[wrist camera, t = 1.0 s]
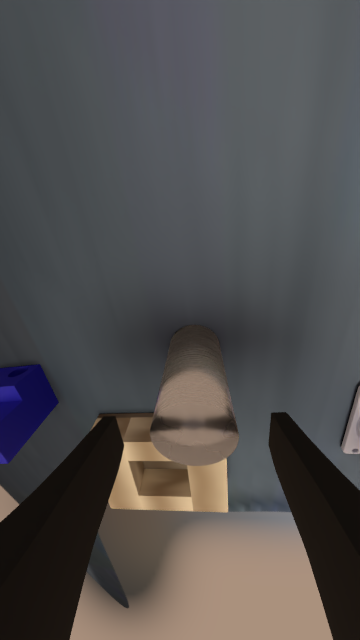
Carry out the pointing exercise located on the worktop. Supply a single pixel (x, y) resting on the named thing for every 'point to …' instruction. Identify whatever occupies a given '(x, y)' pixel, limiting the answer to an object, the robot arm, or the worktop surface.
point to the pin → (194, 402)
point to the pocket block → (162, 475)
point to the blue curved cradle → (22, 406)
